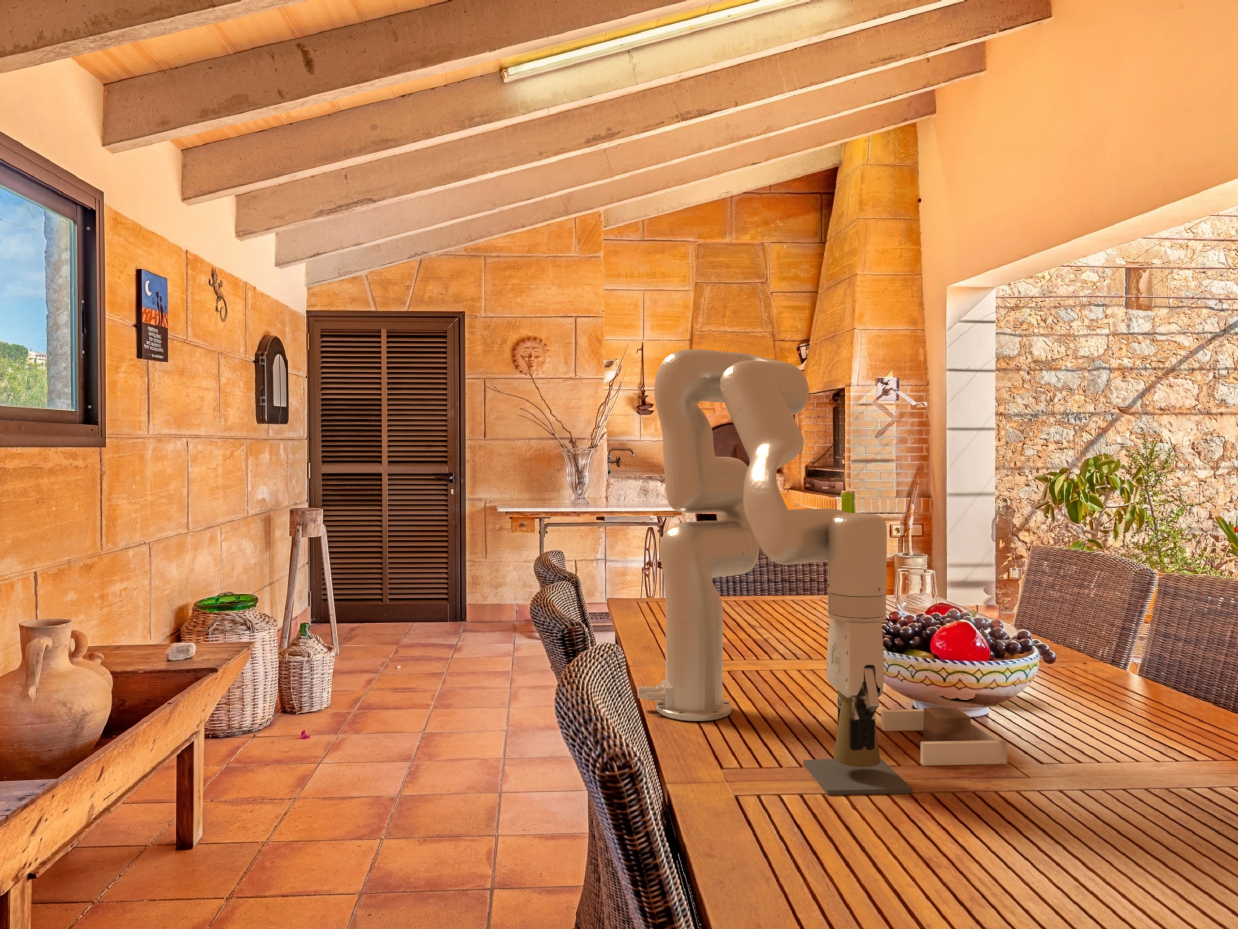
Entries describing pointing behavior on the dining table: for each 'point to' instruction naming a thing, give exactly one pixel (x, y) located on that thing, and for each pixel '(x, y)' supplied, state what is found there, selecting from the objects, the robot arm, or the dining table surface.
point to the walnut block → (946, 725)
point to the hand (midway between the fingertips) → (855, 741)
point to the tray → (972, 752)
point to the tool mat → (856, 778)
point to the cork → (842, 740)
